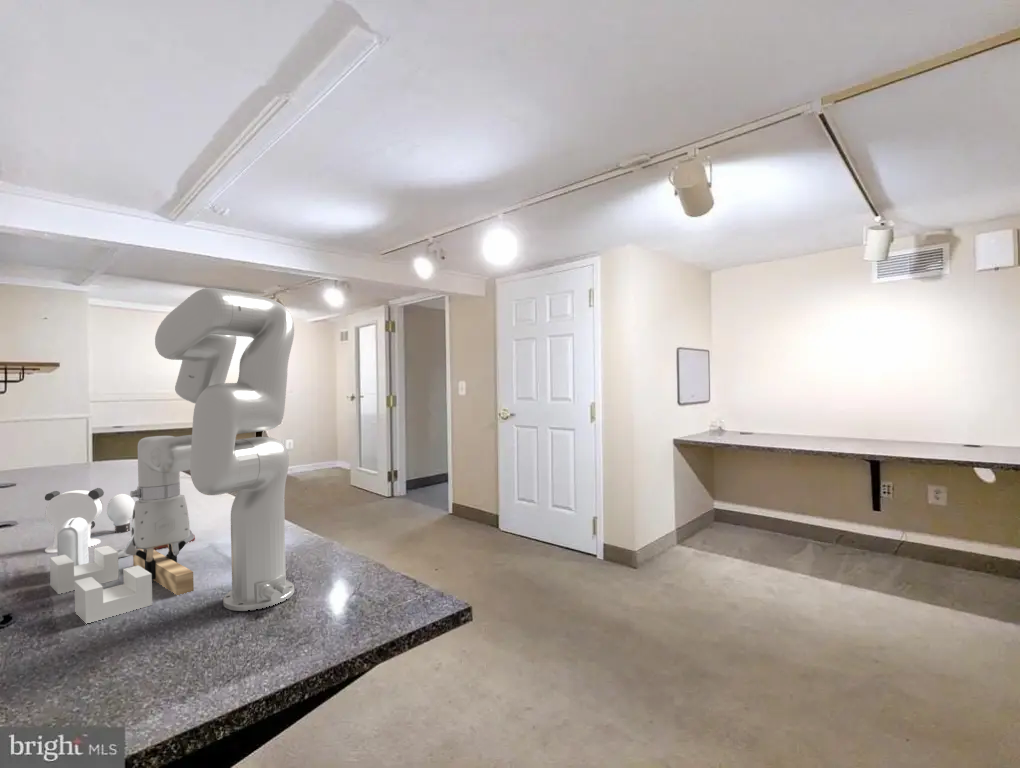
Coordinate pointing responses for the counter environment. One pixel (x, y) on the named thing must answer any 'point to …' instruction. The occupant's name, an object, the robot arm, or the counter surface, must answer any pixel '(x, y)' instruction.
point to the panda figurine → (73, 510)
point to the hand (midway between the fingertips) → (161, 574)
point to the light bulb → (121, 511)
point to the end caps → (89, 592)
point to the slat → (169, 573)
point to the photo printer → (74, 540)
